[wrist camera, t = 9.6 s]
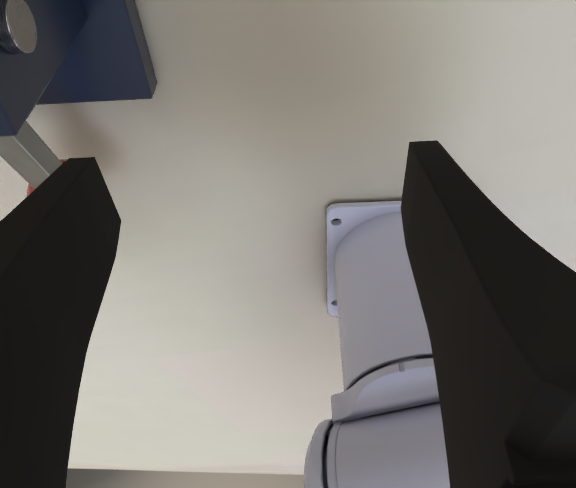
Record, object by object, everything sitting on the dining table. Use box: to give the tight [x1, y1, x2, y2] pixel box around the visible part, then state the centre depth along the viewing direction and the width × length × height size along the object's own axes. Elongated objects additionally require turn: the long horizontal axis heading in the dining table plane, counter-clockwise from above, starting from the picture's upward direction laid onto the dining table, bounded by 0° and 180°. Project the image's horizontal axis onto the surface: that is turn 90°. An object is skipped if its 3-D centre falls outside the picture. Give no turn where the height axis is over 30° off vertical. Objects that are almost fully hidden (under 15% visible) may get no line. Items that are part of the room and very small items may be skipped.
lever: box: [0, 121, 66, 196], centre depth 18 cm, size 12×3×3 cm, turn 5°
